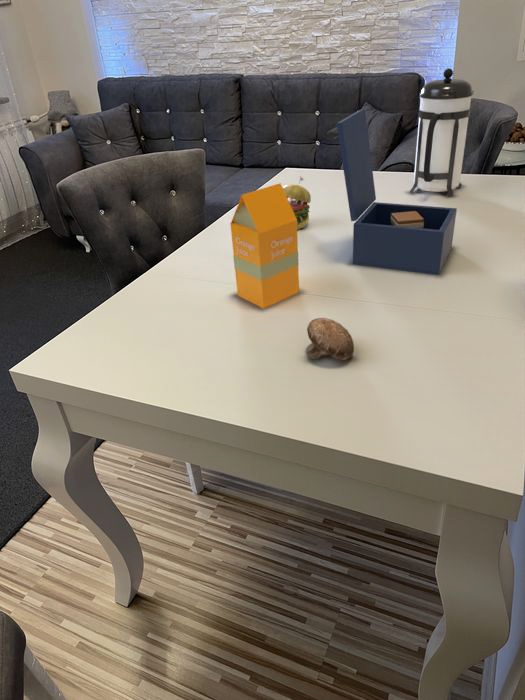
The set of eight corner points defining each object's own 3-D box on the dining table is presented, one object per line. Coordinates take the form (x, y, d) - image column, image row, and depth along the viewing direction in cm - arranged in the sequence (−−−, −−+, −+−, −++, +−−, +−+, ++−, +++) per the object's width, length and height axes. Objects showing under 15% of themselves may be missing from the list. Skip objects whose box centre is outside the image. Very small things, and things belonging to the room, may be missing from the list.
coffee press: (395, 187, 151) (403, 69, 135) (448, 181, 153) (462, 63, 137) (421, 205, 137) (433, 75, 121) (479, 198, 139) (499, 68, 123)
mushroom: (288, 347, 78) (312, 313, 76) (301, 339, 85) (323, 307, 84) (332, 380, 77) (358, 346, 75) (341, 369, 84) (365, 337, 82)
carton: (412, 248, 112) (416, 210, 107) (420, 257, 107) (424, 219, 103) (388, 250, 112) (390, 213, 107) (395, 260, 107) (398, 221, 103)
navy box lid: (364, 108, 105) (341, 113, 107) (341, 122, 95) (316, 126, 97) (376, 199, 113) (354, 201, 116) (356, 220, 103) (332, 222, 105)
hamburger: (274, 228, 130) (271, 178, 124) (295, 220, 134) (293, 171, 127) (296, 235, 125) (294, 184, 119) (317, 227, 129) (317, 176, 122)
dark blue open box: (451, 250, 112) (456, 208, 107) (438, 277, 101) (444, 232, 97) (371, 242, 119) (373, 202, 114) (352, 266, 108) (353, 223, 103)
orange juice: (237, 298, 100) (226, 191, 89) (272, 282, 104) (266, 179, 94) (264, 311, 95) (255, 199, 84) (300, 295, 99) (296, 186, 88)
